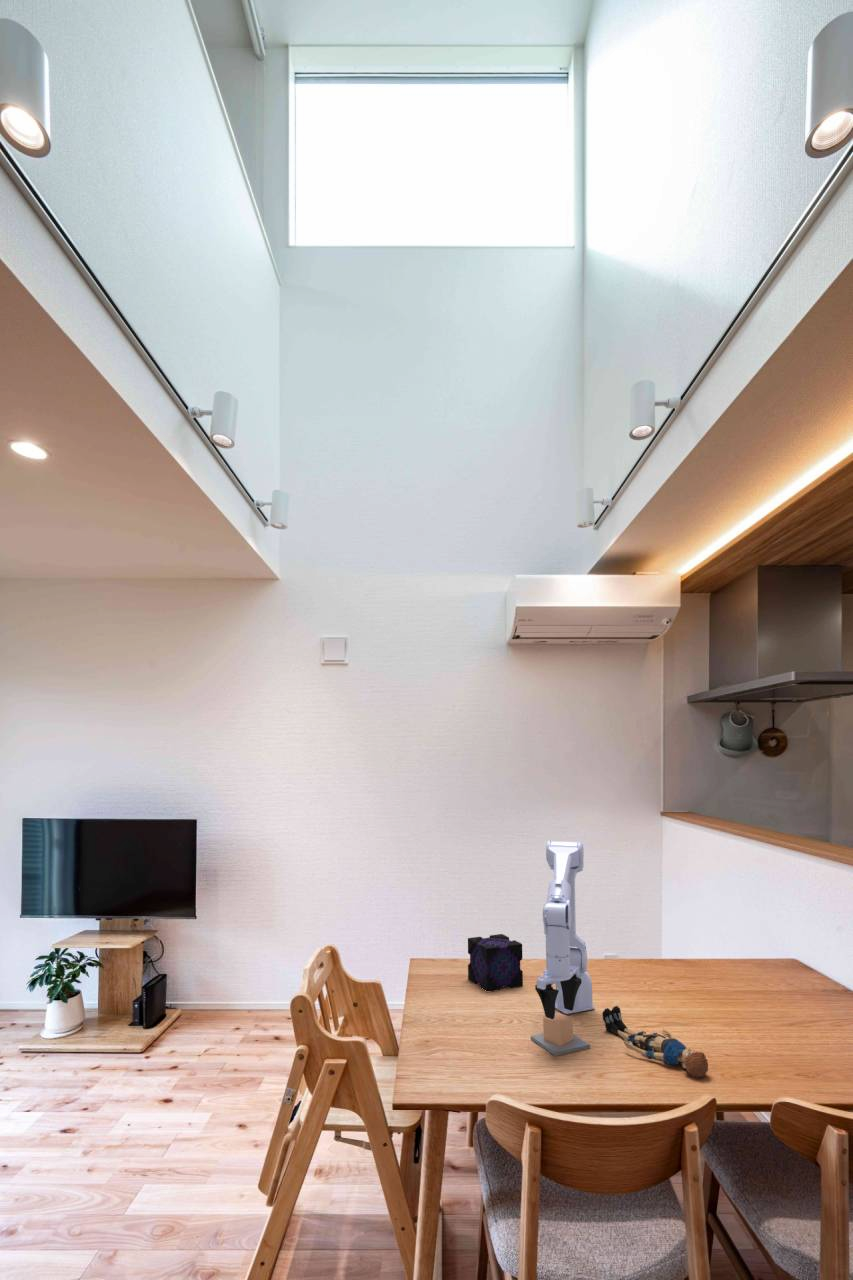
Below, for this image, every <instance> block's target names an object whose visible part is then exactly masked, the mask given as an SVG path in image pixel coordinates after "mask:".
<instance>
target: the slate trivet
mask: <svg viewBox="0 0 853 1280" xmlns="http://www.w3.org/2000/svg"><path fill="white" fill-rule="evenodd" d="M530 1040H531V1041H532V1042H534V1043H535V1044H536V1045H538V1046H540V1047H541V1048H543V1049H544V1050H546V1051H547V1052H548V1053H550V1054H551V1055H553V1056H555V1057H557V1056H560V1055H565V1054H570V1053H575V1052H579V1051H582V1050H583V1051H585V1050H588V1049H591V1044H590V1043H589V1042H587V1041H585V1040H583V1039H582V1038H580V1037H578V1036H577V1035H576V1034H574V1033H573V1040H572V1041H570V1042H568V1043H566V1044H564V1045H562V1046H560V1045H557V1044H554V1043H552V1042H549V1041H546V1040H544V1032H543V1033H538V1034H534V1035H530Z"/></svg>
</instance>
